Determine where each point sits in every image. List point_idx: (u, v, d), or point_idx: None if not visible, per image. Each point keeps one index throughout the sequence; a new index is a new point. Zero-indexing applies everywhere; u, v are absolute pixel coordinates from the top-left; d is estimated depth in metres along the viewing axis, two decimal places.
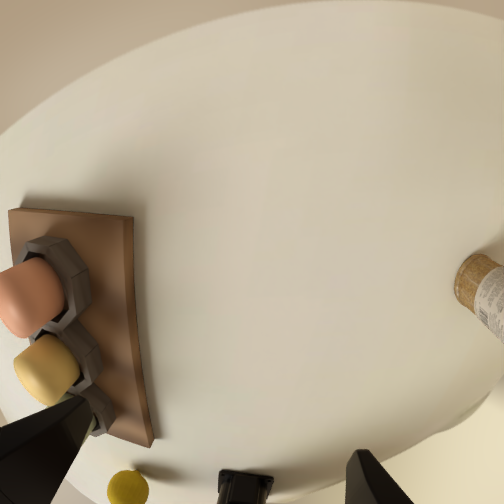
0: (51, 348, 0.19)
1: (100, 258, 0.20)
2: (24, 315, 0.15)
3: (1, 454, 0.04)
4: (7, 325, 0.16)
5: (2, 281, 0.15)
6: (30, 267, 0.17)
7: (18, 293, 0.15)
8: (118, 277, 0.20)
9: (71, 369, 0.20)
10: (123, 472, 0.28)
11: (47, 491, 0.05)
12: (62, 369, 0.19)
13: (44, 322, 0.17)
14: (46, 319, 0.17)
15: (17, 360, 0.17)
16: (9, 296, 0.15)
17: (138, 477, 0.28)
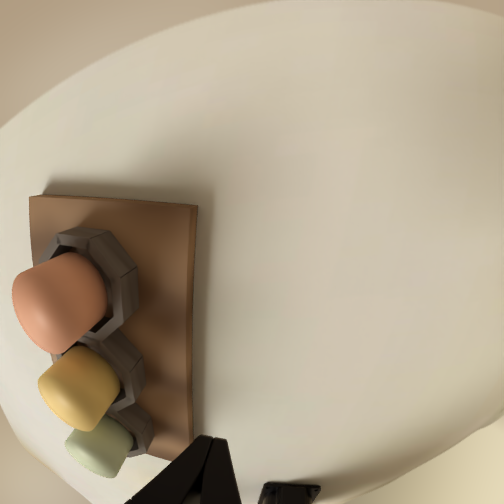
0: (87, 363, 0.16)
1: (155, 254, 0.18)
2: (60, 325, 0.13)
3: None
4: (32, 337, 0.13)
5: (28, 281, 0.12)
6: (65, 264, 0.14)
7: (53, 297, 0.12)
8: (178, 277, 0.18)
9: (112, 387, 0.17)
10: None
11: None
12: (102, 388, 0.16)
13: (83, 333, 0.15)
14: (86, 329, 0.15)
15: (43, 379, 0.14)
16: (38, 301, 0.12)
17: None
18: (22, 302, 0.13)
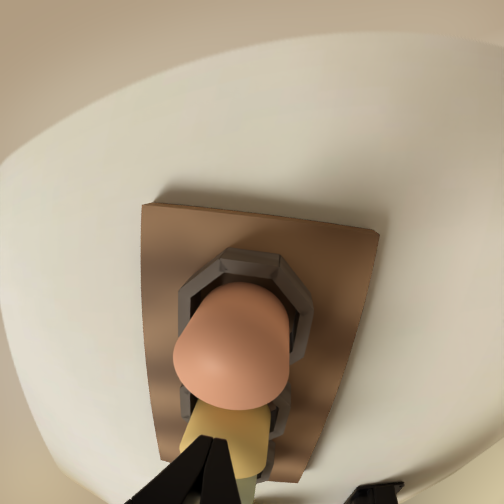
0: None
1: (334, 281, 0.17)
2: (270, 379, 0.12)
3: None
4: (202, 395, 0.12)
5: (223, 331, 0.11)
6: (258, 301, 0.13)
7: (271, 347, 0.11)
8: (356, 303, 0.17)
9: (269, 425, 0.16)
10: None
11: None
12: (267, 430, 0.15)
13: None
14: None
15: None
16: (235, 354, 0.12)
17: None
18: (198, 355, 0.12)
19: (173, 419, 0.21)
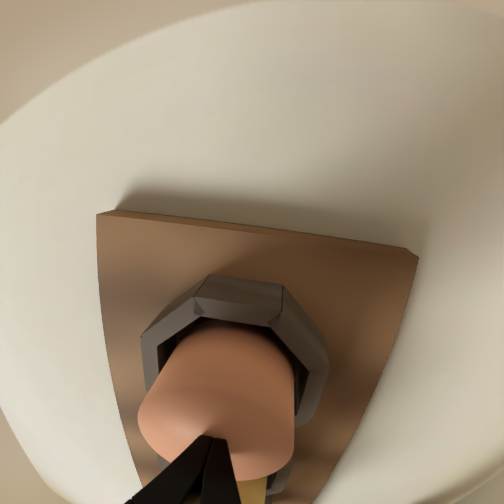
0: None
1: (356, 320, 0.12)
2: (268, 455, 0.08)
3: None
4: None
5: (200, 401, 0.07)
6: (253, 351, 0.09)
7: (270, 424, 0.07)
8: (381, 346, 0.12)
9: (265, 489, 0.11)
10: None
11: None
12: (262, 498, 0.10)
13: None
14: None
15: None
16: (220, 428, 0.07)
17: None
18: (170, 425, 0.08)
19: (155, 461, 0.16)
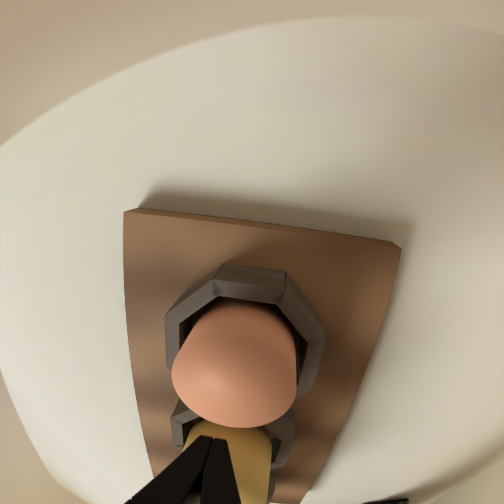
0: (246, 443, 0.13)
1: (348, 302, 0.14)
2: (275, 397, 0.11)
3: None
4: (202, 412, 0.11)
5: (225, 348, 0.10)
6: (263, 313, 0.12)
7: (277, 366, 0.10)
8: (371, 326, 0.14)
9: (270, 459, 0.14)
10: None
11: None
12: (268, 466, 0.12)
13: None
14: None
15: None
16: (239, 372, 0.10)
17: None
18: (198, 373, 0.11)
19: (166, 442, 0.19)
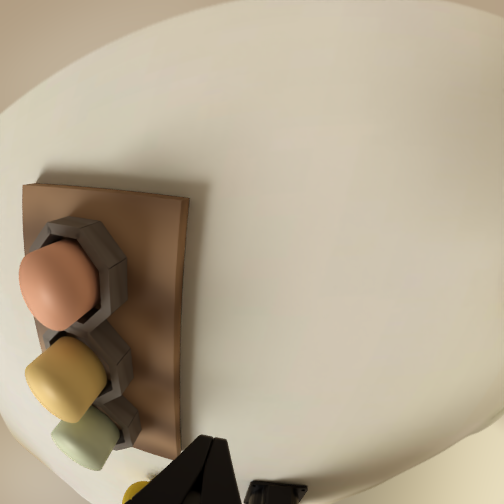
0: (73, 354, 0.16)
1: (145, 246, 0.17)
2: (64, 303, 0.14)
3: None
4: (36, 315, 0.15)
5: (36, 261, 0.13)
6: (72, 246, 0.15)
7: (59, 276, 0.13)
8: (167, 270, 0.18)
9: (98, 379, 0.17)
10: (140, 484, 0.25)
11: None
12: (88, 380, 0.16)
13: (85, 312, 0.16)
14: (88, 308, 0.16)
15: (30, 369, 0.14)
16: (44, 280, 0.14)
17: None
18: (29, 281, 0.14)
19: None
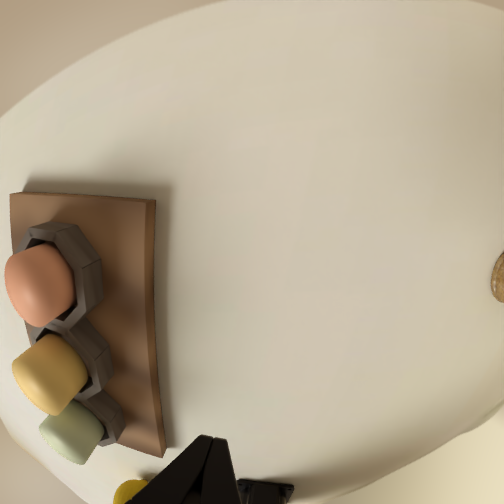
0: (55, 350, 0.17)
1: (116, 247, 0.18)
2: (43, 300, 0.14)
3: None
4: (20, 313, 0.15)
5: (18, 262, 0.14)
6: (50, 248, 0.16)
7: (37, 275, 0.14)
8: (136, 269, 0.18)
9: (78, 374, 0.17)
10: (130, 482, 0.25)
11: None
12: (68, 374, 0.16)
13: (63, 309, 0.16)
14: (66, 306, 0.16)
15: (16, 364, 0.14)
16: (25, 279, 0.14)
17: None
18: (13, 281, 0.14)
19: None
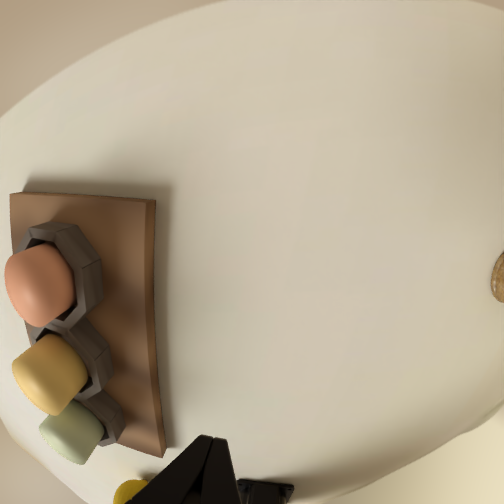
0: (55, 350, 0.17)
1: (116, 247, 0.18)
2: (43, 300, 0.14)
3: None
4: (20, 313, 0.15)
5: (18, 262, 0.14)
6: (50, 248, 0.16)
7: (37, 275, 0.14)
8: (136, 269, 0.18)
9: (78, 374, 0.17)
10: (130, 482, 0.25)
11: None
12: (68, 374, 0.16)
13: (63, 309, 0.16)
14: (66, 306, 0.16)
15: (16, 364, 0.14)
16: (25, 279, 0.14)
17: None
18: (13, 281, 0.14)
19: None
